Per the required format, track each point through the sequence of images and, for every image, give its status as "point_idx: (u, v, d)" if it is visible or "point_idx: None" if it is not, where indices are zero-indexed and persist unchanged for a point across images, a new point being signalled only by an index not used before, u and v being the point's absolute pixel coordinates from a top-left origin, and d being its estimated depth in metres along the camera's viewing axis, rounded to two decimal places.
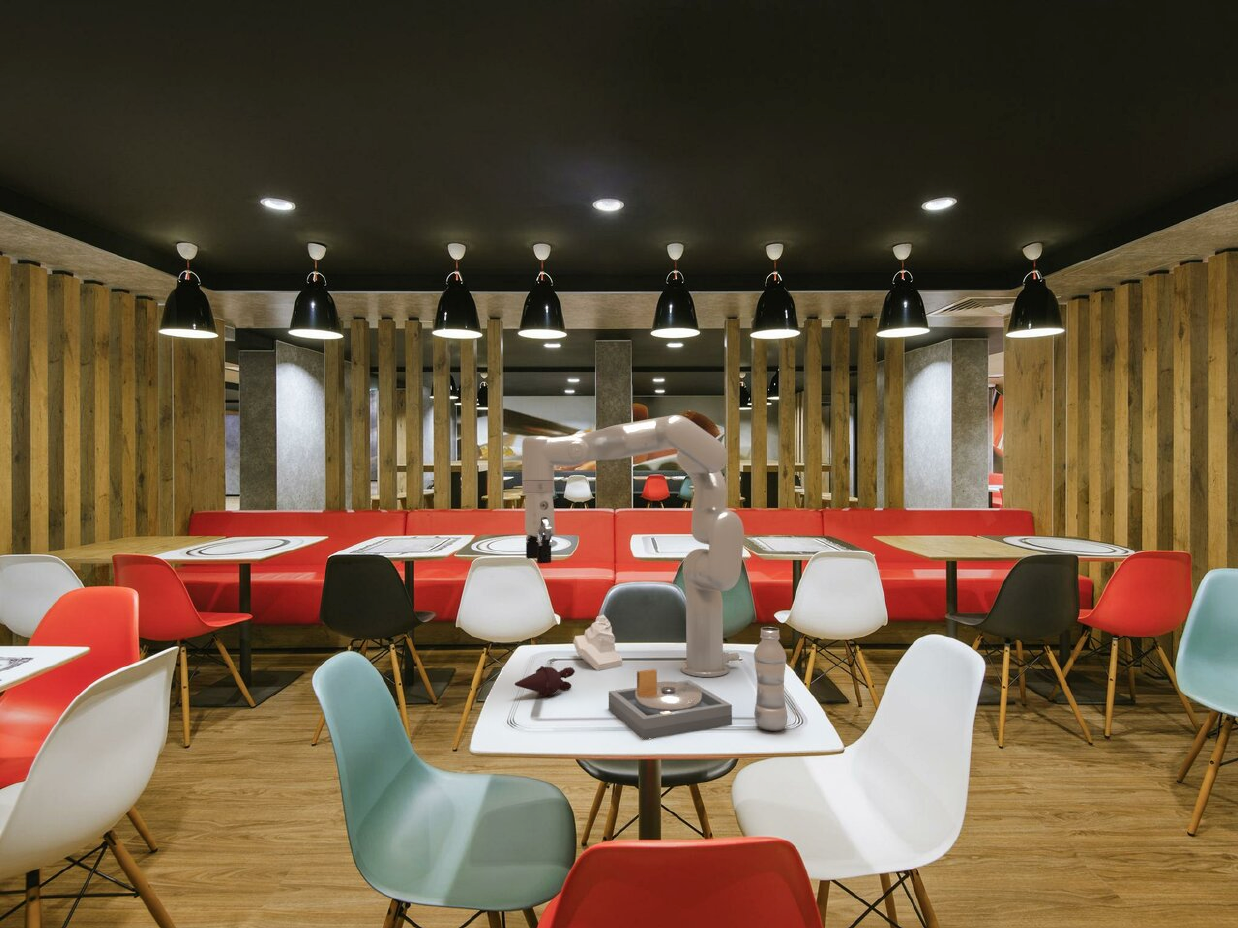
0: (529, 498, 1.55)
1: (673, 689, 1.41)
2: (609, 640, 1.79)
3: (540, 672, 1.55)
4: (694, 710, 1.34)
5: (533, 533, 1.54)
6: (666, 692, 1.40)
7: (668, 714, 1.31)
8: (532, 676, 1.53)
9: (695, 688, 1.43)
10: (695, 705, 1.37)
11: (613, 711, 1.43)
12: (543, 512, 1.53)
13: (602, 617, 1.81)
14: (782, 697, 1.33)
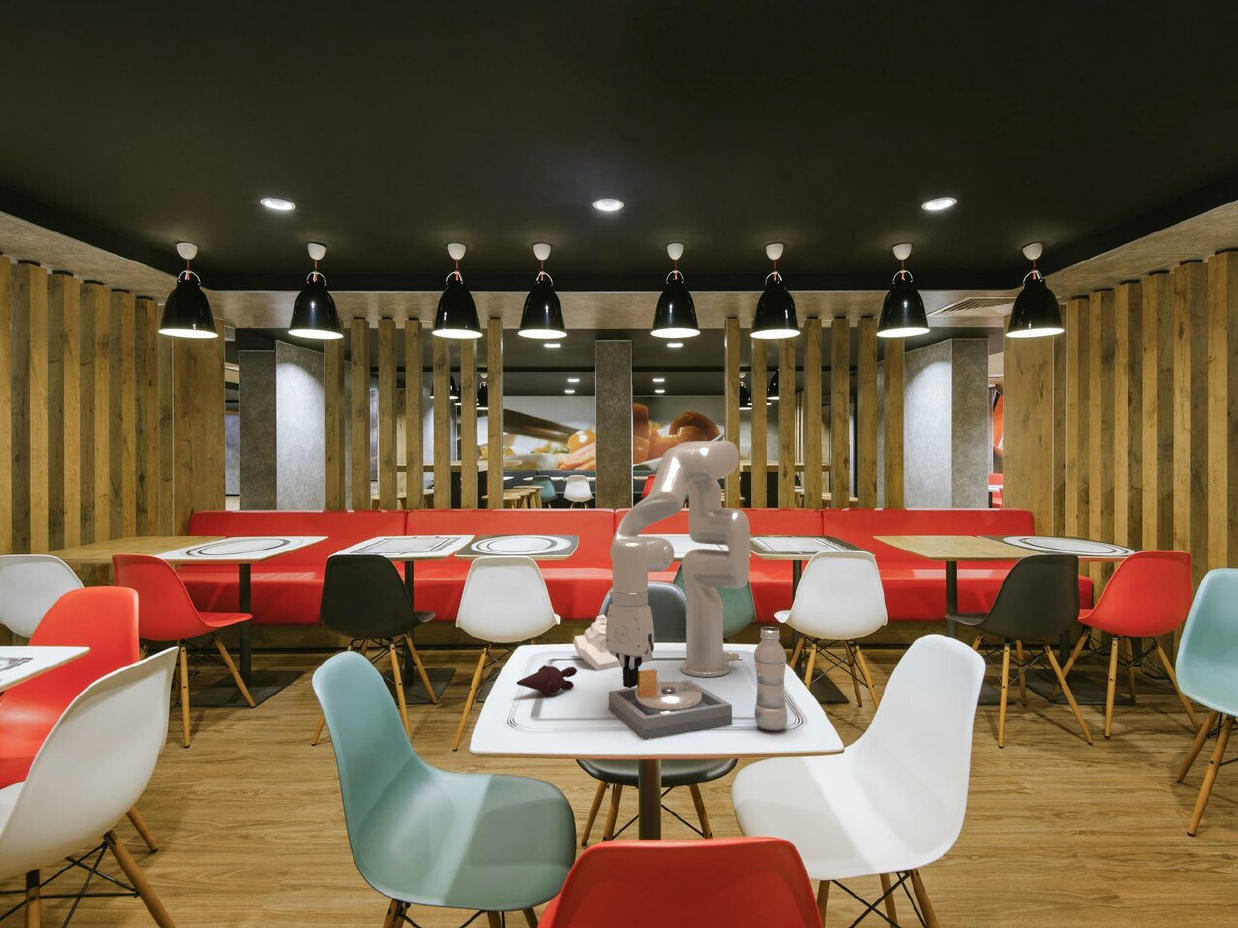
0: None
1: (673, 689, 1.41)
2: None
3: (542, 671, 1.55)
4: (694, 710, 1.34)
5: None
6: (666, 692, 1.40)
7: (668, 714, 1.31)
8: (534, 675, 1.54)
9: (695, 688, 1.44)
10: (695, 705, 1.37)
11: (613, 711, 1.43)
12: None
13: (602, 617, 1.81)
14: (782, 697, 1.33)
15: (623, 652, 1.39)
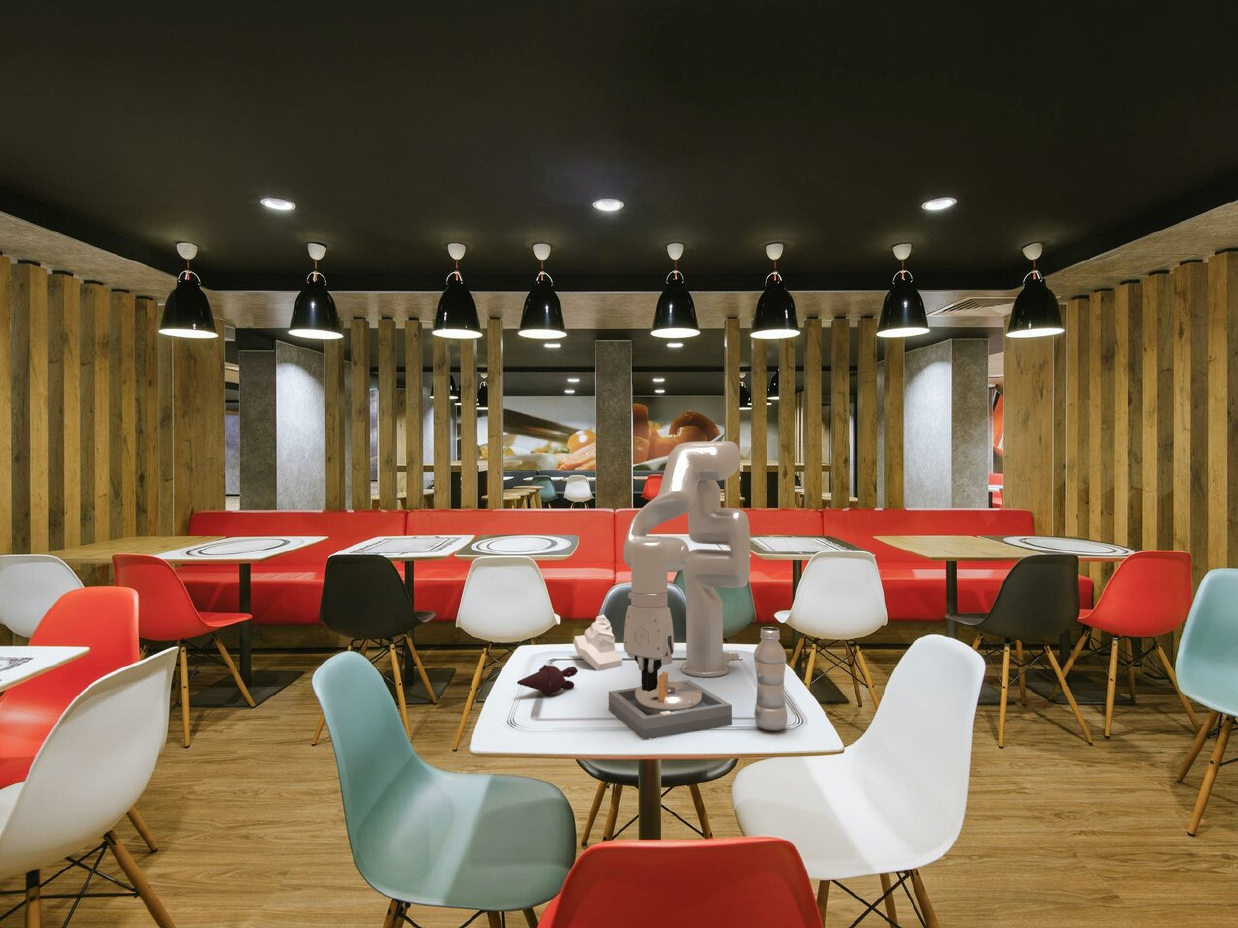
0: None
1: (672, 688, 1.42)
2: (609, 640, 1.79)
3: (543, 671, 1.55)
4: (694, 710, 1.34)
5: None
6: (672, 692, 1.40)
7: (668, 714, 1.31)
8: (534, 675, 1.54)
9: (675, 682, 1.47)
10: None
11: (613, 711, 1.43)
12: None
13: (602, 617, 1.81)
14: (782, 697, 1.33)
15: (642, 654, 1.35)
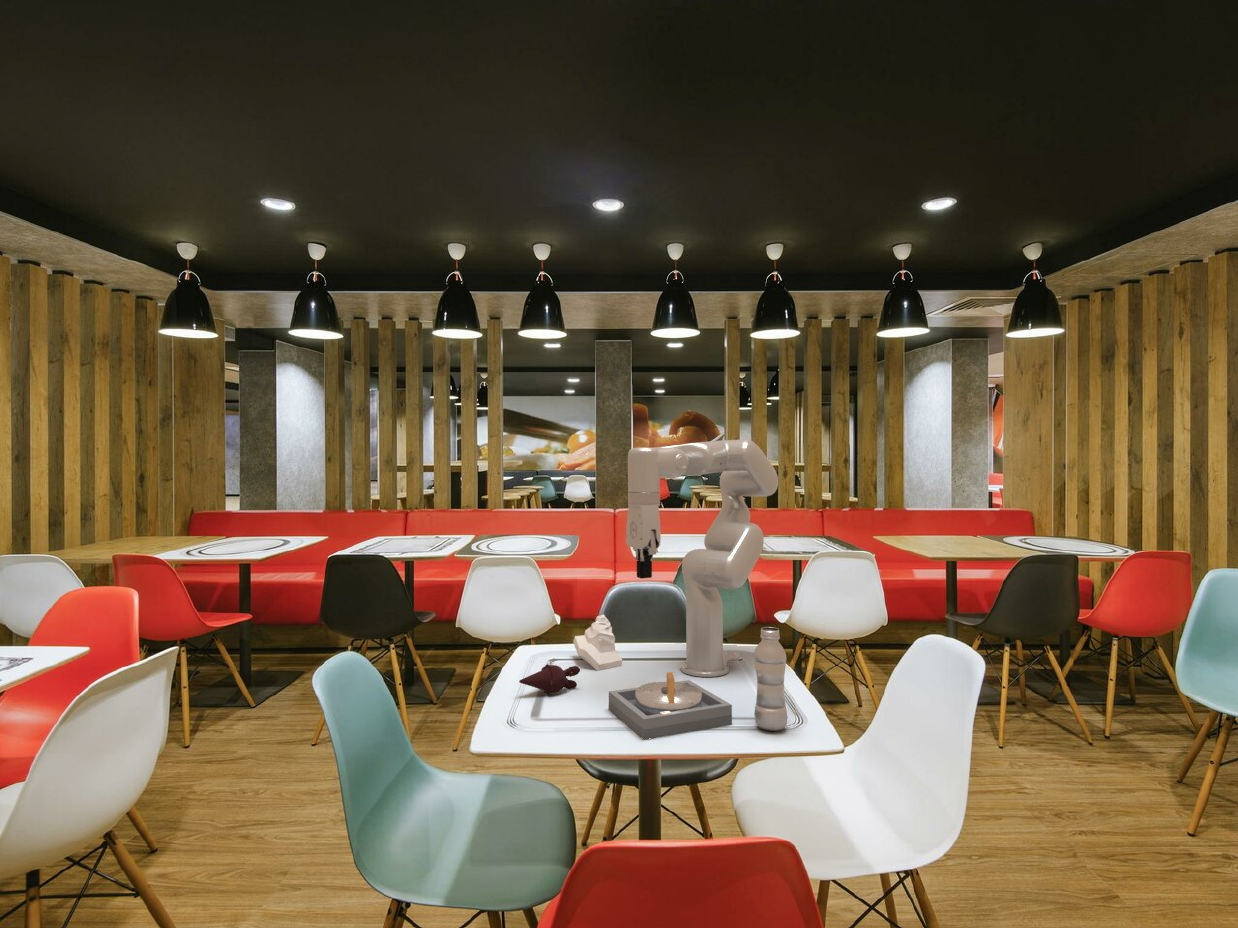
0: None
1: None
2: (609, 640, 1.79)
3: (545, 670, 1.56)
4: (694, 710, 1.34)
5: None
6: None
7: (668, 714, 1.31)
8: (537, 674, 1.55)
9: (666, 682, 1.48)
10: None
11: (613, 711, 1.43)
12: None
13: (602, 617, 1.81)
14: (782, 697, 1.33)
15: (633, 545, 1.56)
